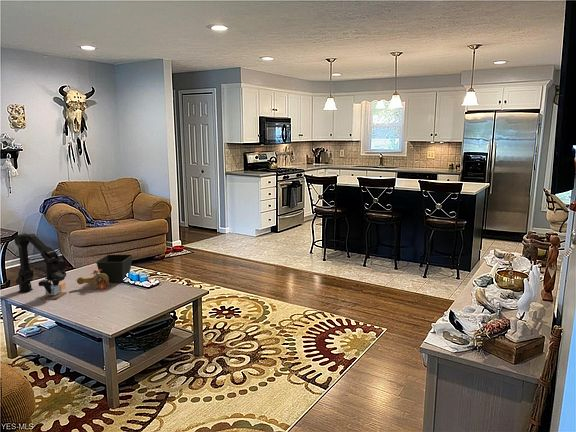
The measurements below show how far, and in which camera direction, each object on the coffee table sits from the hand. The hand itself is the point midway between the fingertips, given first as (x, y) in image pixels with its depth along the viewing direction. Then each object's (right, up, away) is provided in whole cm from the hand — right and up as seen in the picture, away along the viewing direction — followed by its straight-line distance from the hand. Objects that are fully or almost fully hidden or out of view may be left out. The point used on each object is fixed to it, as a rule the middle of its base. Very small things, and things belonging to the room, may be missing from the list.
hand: (53, 291), depth 281 cm
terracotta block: (-3, -1, +13) cm, 13 cm away
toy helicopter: (+21, 0, +16) cm, 26 cm away
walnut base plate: (0, -3, +1) cm, 3 cm away
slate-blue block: (0, -1, 0) cm, 1 cm away
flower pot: (+28, +3, +32) cm, 43 cm away
